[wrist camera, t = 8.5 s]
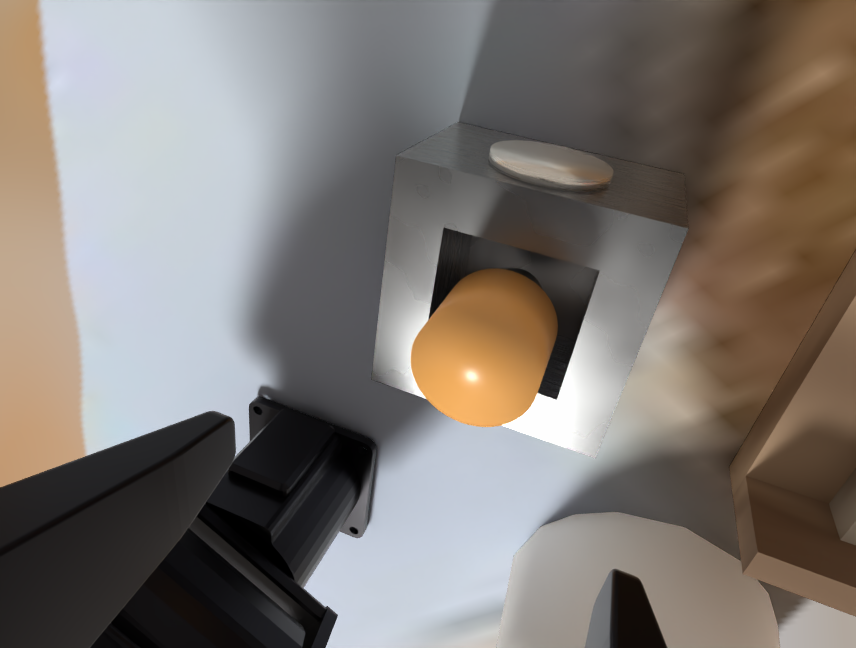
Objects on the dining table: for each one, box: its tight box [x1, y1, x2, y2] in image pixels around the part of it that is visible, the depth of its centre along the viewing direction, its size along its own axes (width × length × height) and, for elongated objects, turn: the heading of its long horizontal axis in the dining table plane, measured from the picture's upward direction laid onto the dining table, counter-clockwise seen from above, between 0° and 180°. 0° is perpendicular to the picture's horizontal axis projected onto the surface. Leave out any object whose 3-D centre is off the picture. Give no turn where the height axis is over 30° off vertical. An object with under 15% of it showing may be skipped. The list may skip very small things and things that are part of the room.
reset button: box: [410, 268, 558, 427], centre depth 15 cm, size 3×3×4 cm
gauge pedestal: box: [371, 122, 689, 458], centre depth 17 cm, size 7×7×5 cm
